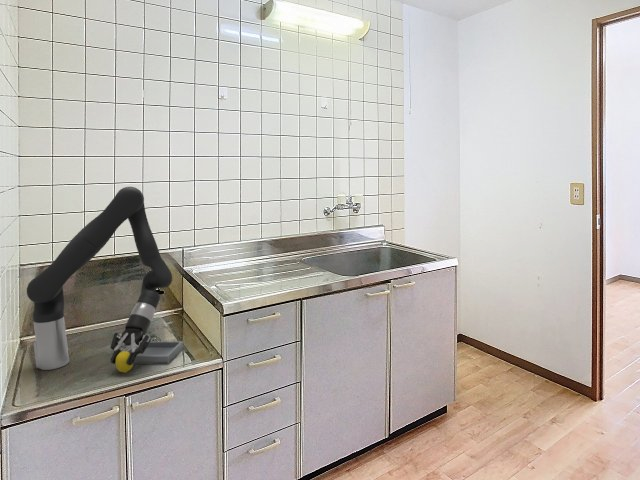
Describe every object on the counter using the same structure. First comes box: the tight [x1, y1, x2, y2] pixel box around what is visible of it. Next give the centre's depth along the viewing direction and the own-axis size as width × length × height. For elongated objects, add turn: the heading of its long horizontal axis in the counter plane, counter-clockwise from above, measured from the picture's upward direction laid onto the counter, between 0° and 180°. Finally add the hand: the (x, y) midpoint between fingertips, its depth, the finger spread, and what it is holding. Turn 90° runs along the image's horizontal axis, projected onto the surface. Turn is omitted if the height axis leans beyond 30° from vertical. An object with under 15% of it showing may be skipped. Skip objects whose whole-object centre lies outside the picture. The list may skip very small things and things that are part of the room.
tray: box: [125, 340, 185, 366], centre depth 158 cm, size 18×14×3 cm
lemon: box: [115, 350, 134, 374], centre depth 144 cm, size 6×6×8 cm
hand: (120, 363), depth 142 cm, fingers closed on lemon, 5 cm apart
